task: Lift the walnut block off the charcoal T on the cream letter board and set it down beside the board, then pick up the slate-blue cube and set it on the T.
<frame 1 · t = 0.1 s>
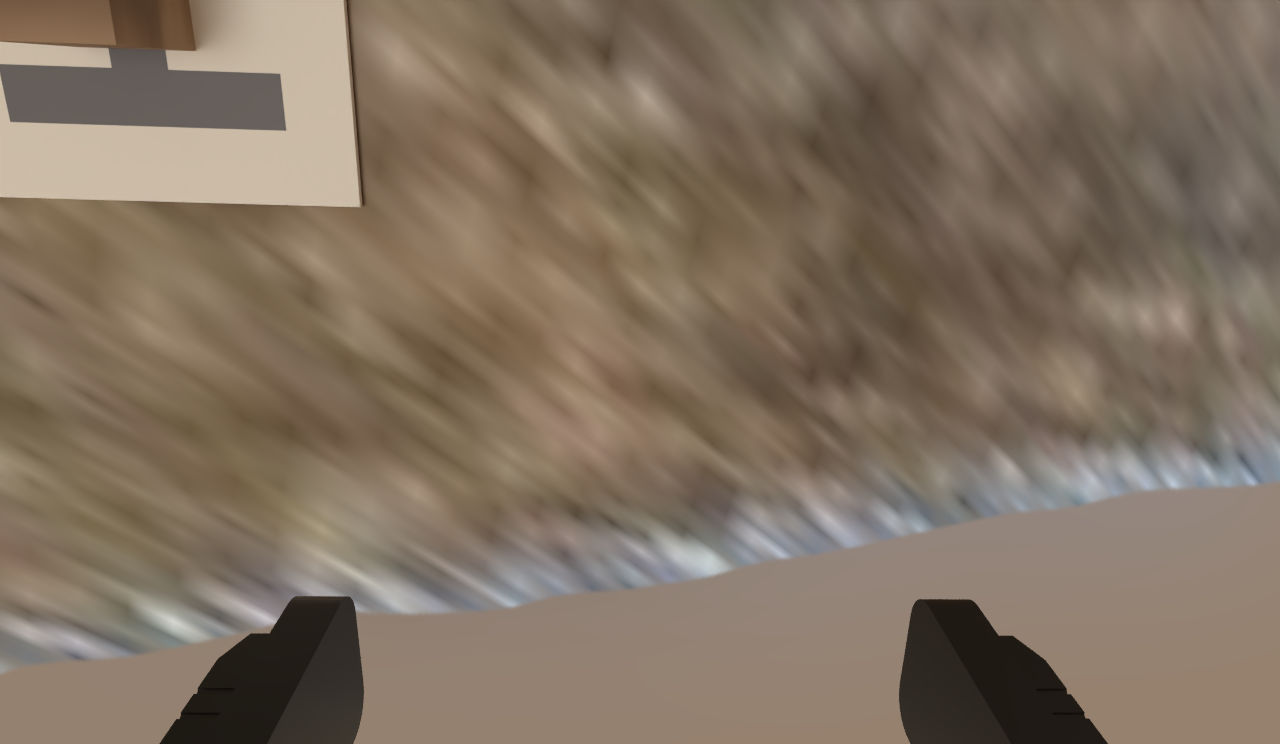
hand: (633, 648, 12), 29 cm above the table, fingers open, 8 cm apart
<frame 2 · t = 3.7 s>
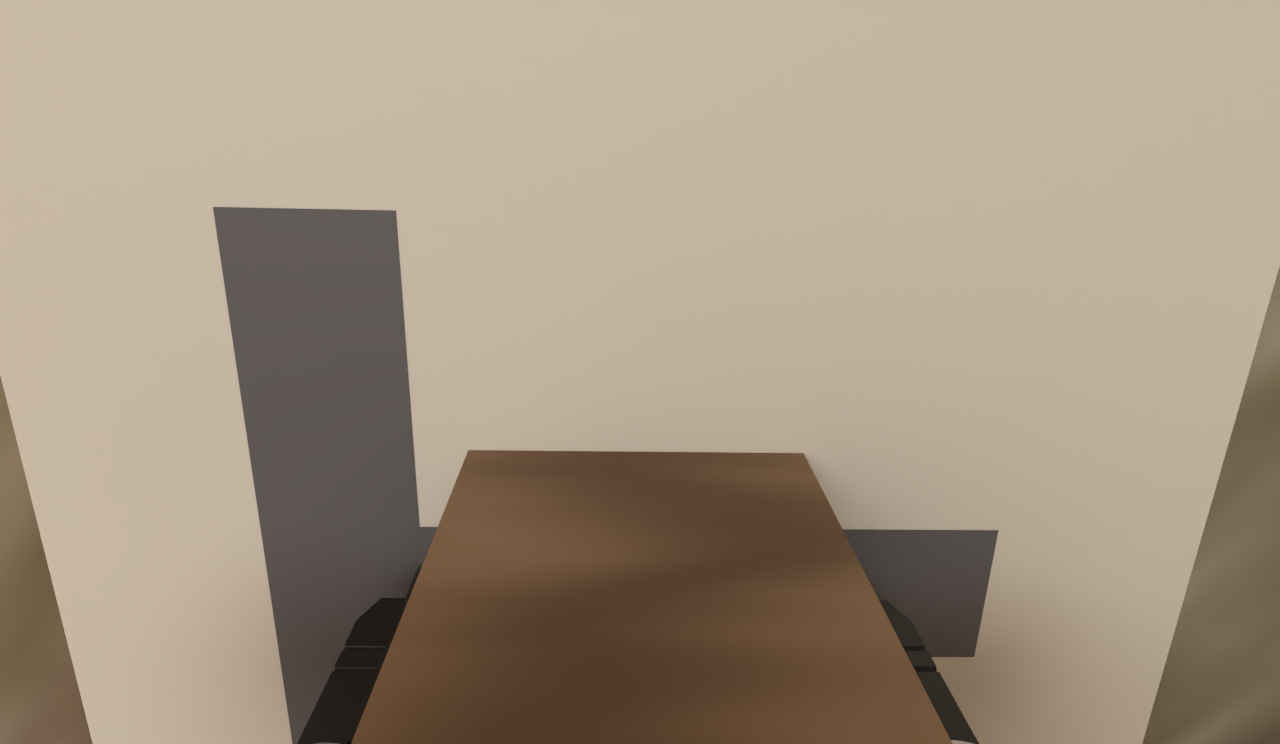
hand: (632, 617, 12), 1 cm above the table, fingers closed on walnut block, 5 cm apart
letter board: (633, 579, 13), on the table
walnut block: (633, 594, 13), resting on letter board, touching gripper
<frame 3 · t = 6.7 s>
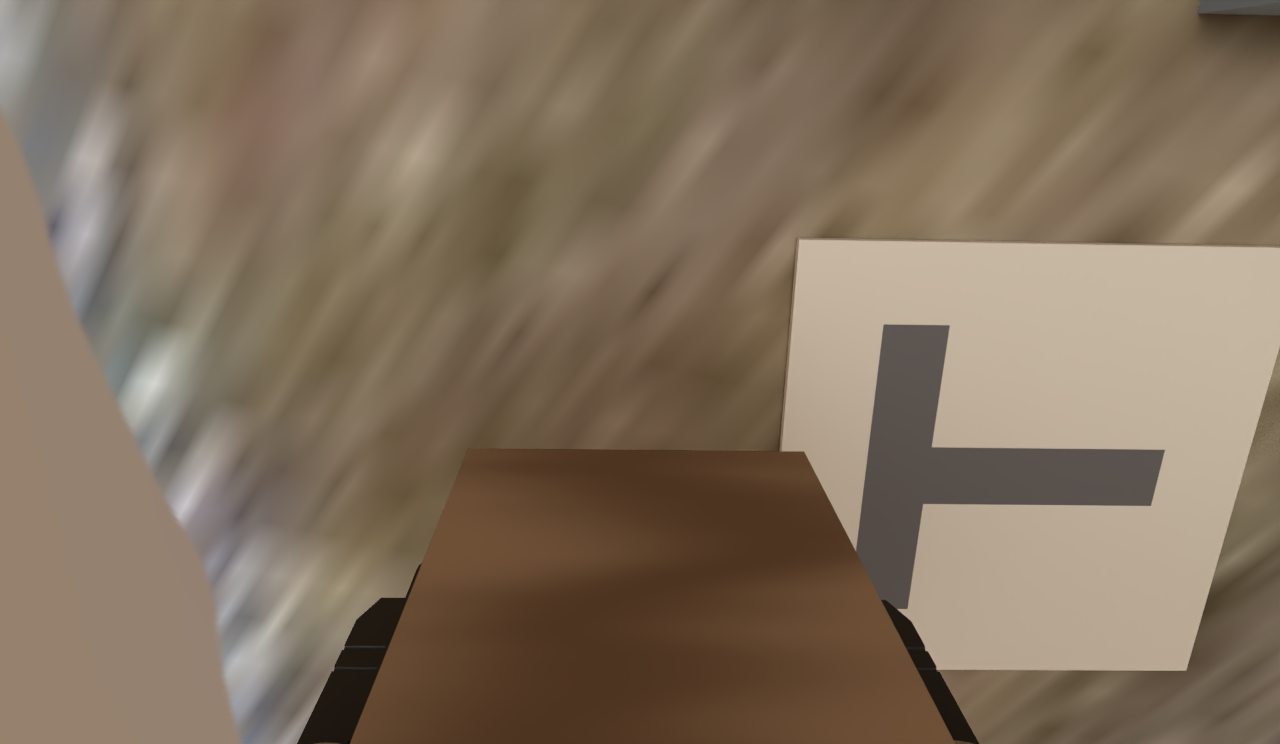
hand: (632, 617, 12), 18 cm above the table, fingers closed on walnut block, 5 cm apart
letter board: (1007, 472, 32), on the table
walnut block: (633, 593, 13), point 17 cm above the table, touching gripper
when the fingers open (1 cm above the table, at t = 10.2 s): walnut block stays where it is, on the table.
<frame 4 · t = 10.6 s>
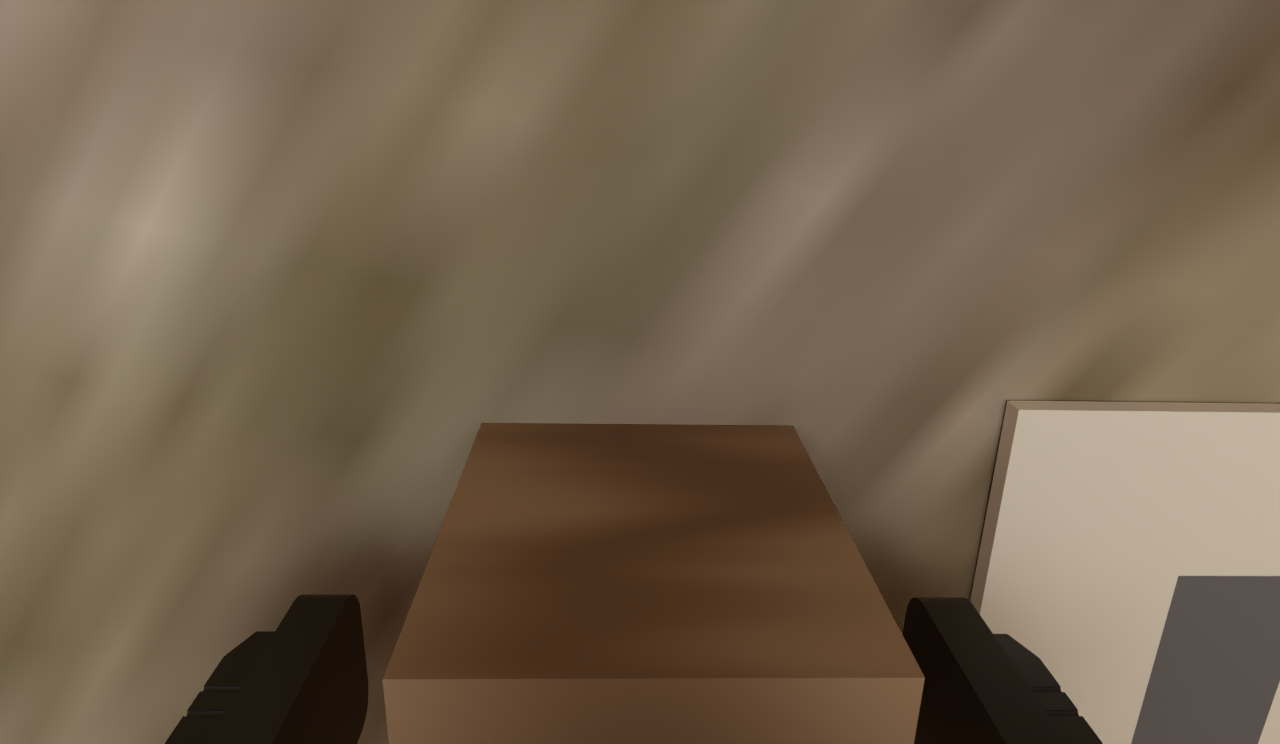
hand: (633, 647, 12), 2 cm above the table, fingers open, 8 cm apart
walnut block: (635, 557, 14), on the table
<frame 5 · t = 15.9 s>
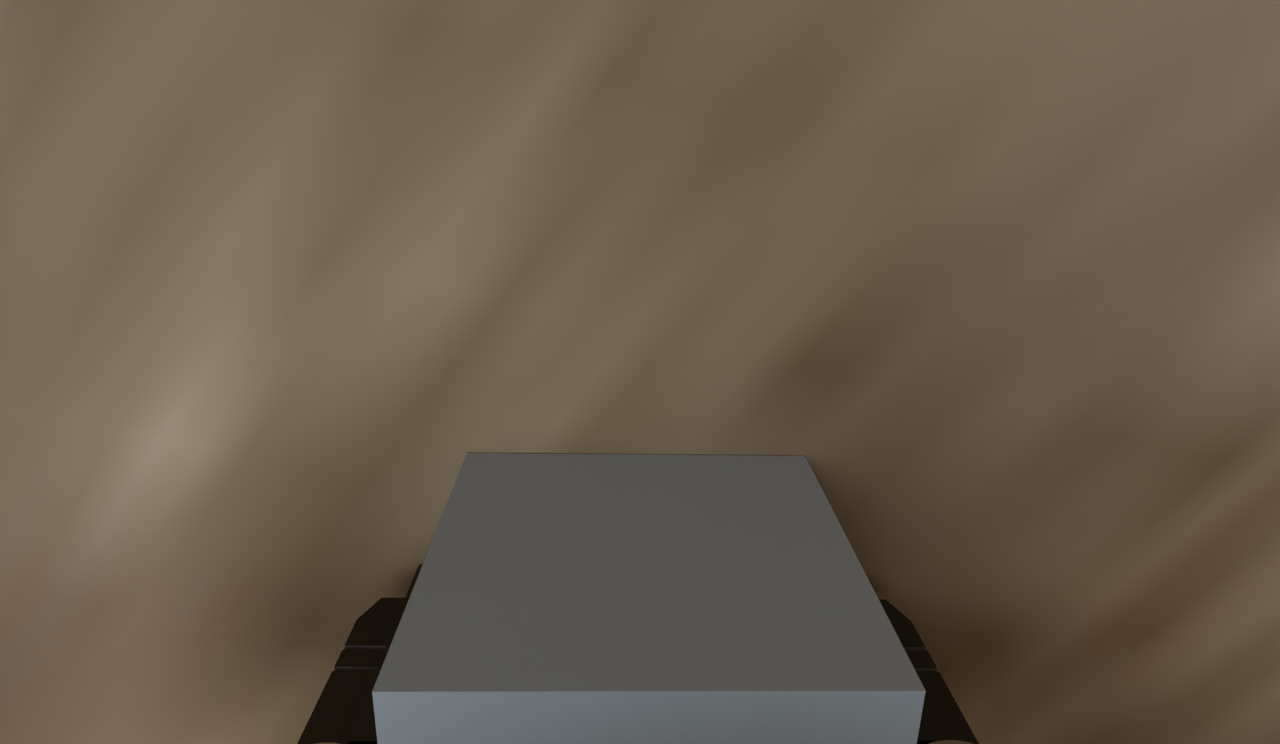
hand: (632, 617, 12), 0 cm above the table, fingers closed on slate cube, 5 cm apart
slate cube: (633, 598, 13), on the table, touching gripper
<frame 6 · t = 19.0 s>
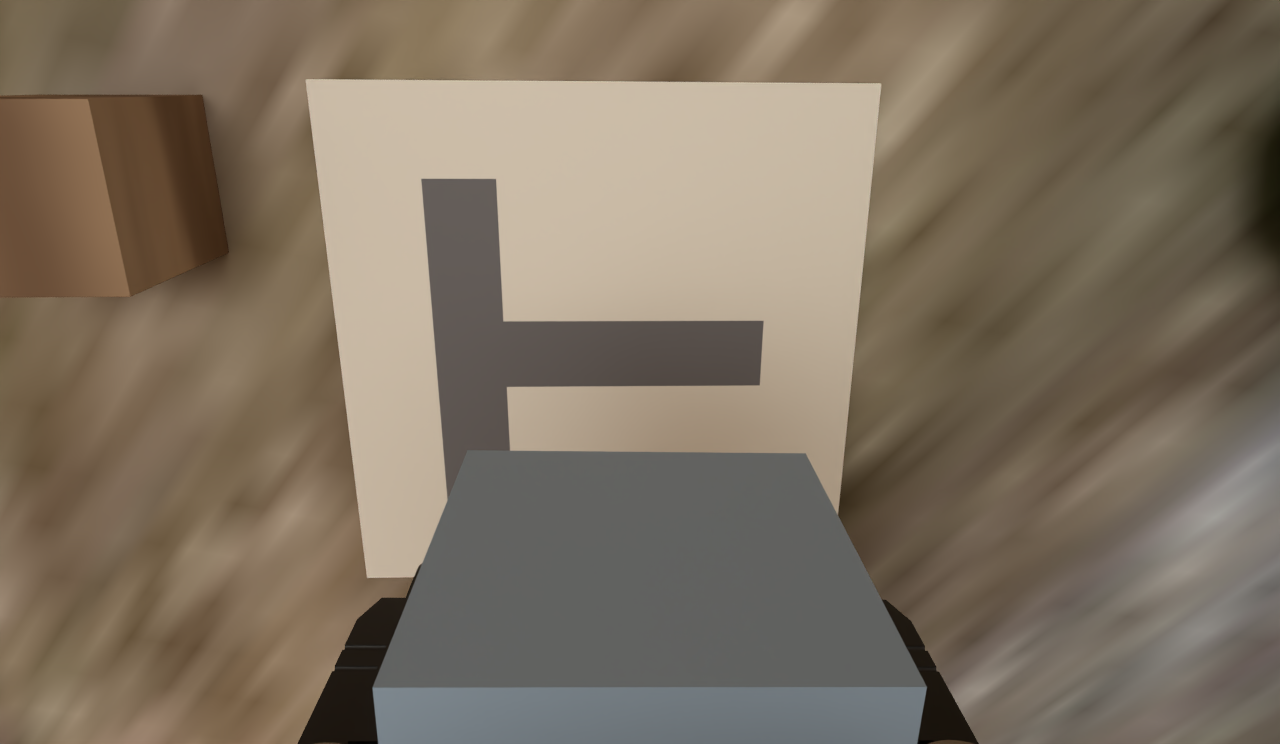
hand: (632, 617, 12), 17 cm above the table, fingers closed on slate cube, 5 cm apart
slate cube: (634, 595, 13), point 17 cm above the table, touching gripper
letter board: (599, 350, 29), on the table
walnut block: (138, 176, 27), on the table
when the fingers open (2 cm above the table, at t = 22.6 s): slate cube drops 1 cm, resting on letter board.
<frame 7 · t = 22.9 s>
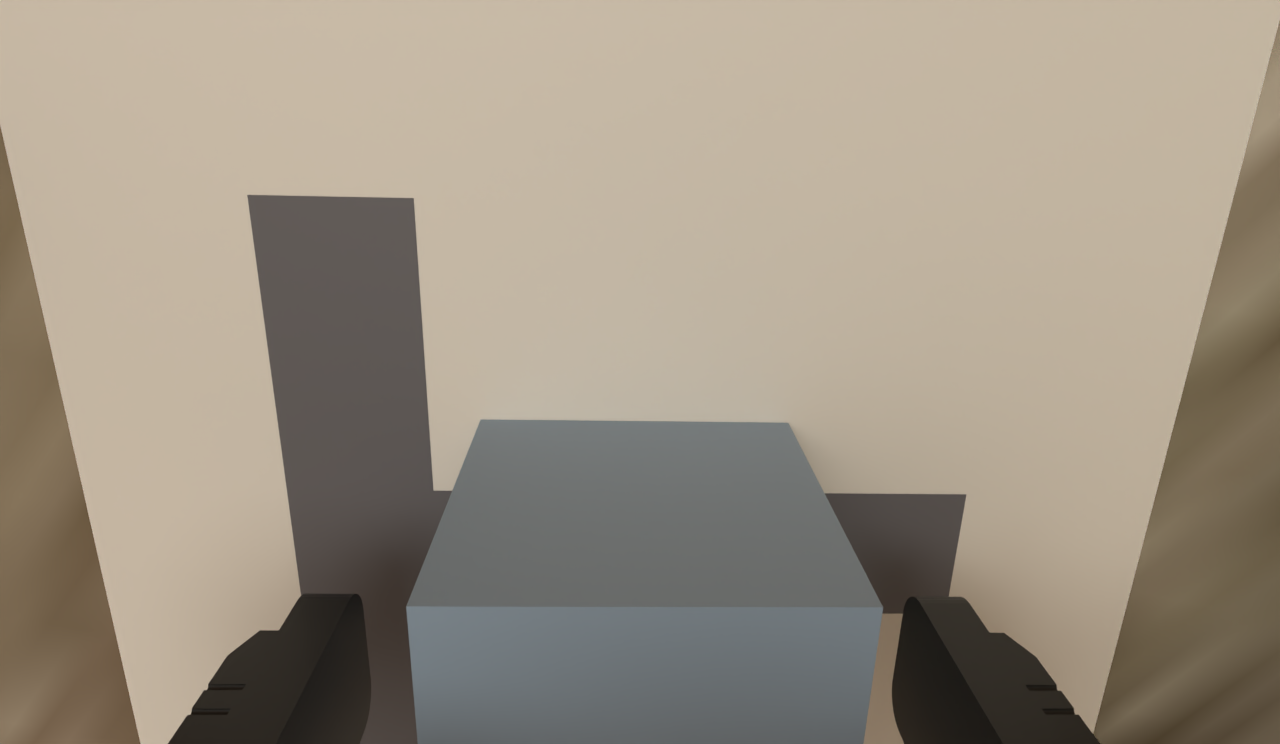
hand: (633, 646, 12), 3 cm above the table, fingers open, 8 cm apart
slate cube: (632, 554, 14), resting on letter board
letter board: (629, 541, 14), on the table
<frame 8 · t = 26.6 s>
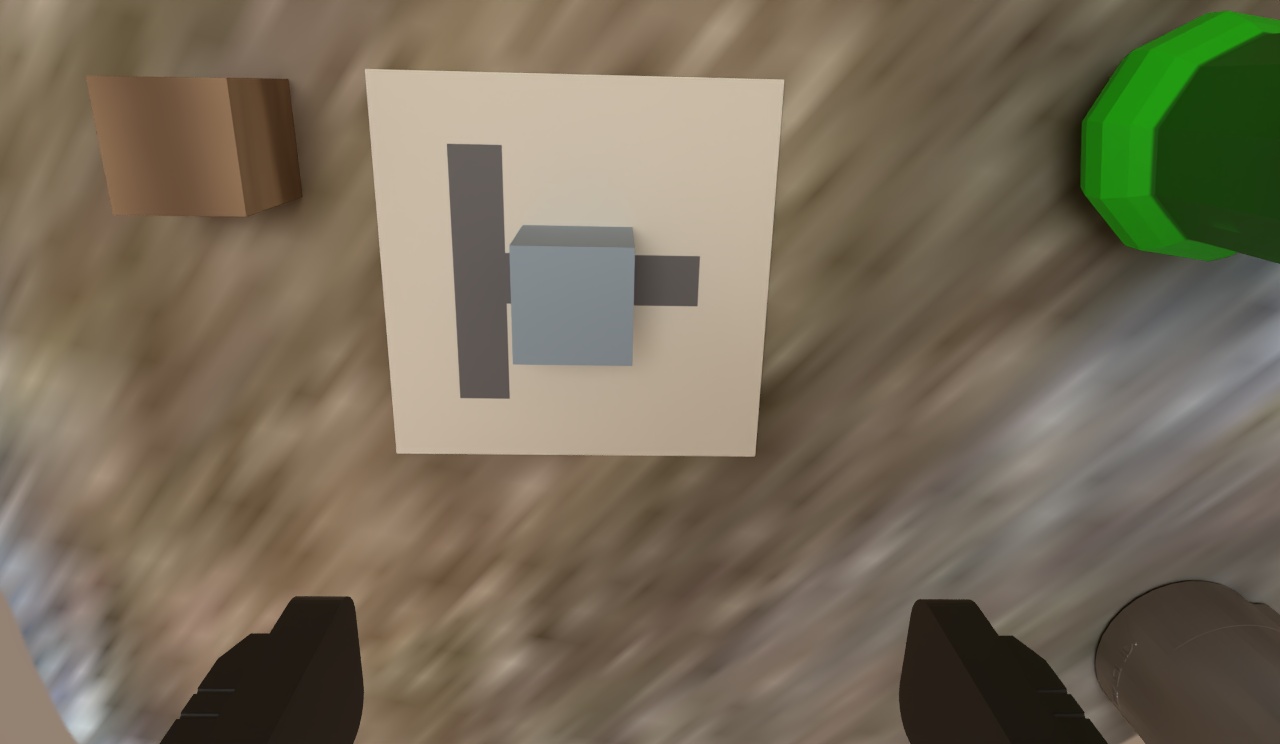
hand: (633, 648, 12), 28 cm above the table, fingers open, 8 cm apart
slate cube: (577, 279, 38), resting on letter board
plastic bottle: (1147, 135, 37), on the table
letter board: (577, 277, 38), on the table
walnut block: (238, 138, 36), on the table
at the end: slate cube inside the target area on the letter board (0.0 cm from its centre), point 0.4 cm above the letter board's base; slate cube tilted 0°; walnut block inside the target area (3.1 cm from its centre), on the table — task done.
